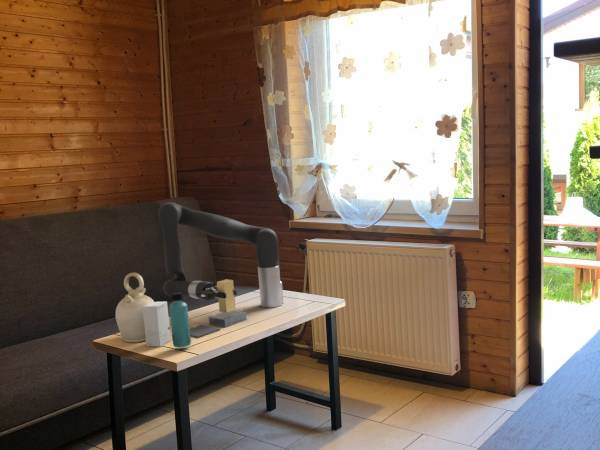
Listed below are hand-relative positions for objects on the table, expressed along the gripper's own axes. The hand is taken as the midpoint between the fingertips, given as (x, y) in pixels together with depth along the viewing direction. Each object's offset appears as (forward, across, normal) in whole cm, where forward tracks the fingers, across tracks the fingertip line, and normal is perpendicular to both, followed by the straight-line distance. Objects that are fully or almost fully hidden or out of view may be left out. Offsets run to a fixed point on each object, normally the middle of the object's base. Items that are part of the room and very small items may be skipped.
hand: (230, 293), depth 254 cm
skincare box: (-6, -32, +12) cm, 35 cm away
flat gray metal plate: (-3, -15, +12) cm, 19 cm away
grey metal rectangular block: (-3, 0, +12) cm, 12 cm away
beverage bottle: (+7, -32, +12) cm, 35 cm away
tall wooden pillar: (-3, 0, +7) cm, 7 cm away
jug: (-19, -31, +12) cm, 38 cm away
